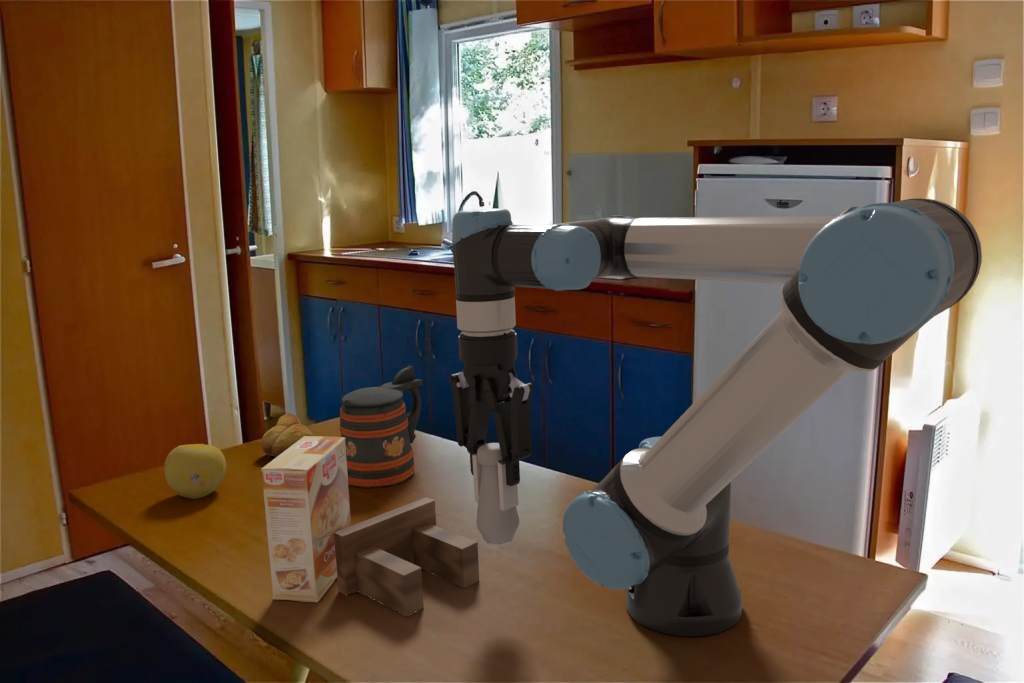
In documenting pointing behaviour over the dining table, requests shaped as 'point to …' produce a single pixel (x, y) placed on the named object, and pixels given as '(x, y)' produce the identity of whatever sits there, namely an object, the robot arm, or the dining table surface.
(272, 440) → the bread roll
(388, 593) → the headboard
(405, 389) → the beer stein
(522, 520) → the dining table surface
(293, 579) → the coffeecake box
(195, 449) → the fruit
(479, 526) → the salt shaker
